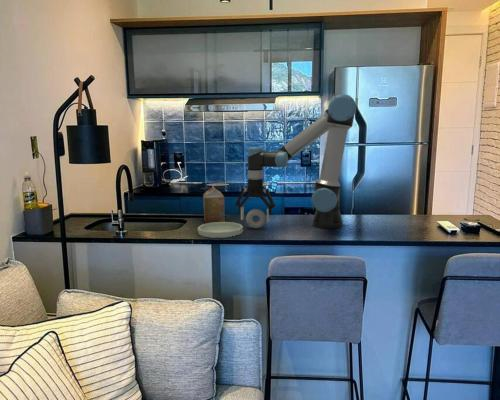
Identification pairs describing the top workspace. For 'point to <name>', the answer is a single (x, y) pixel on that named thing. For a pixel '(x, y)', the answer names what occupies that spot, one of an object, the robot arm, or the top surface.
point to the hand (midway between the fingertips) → (255, 220)
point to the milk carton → (213, 206)
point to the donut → (256, 213)
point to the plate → (220, 229)
